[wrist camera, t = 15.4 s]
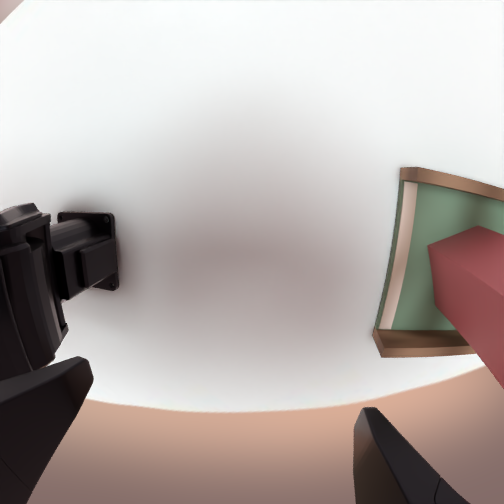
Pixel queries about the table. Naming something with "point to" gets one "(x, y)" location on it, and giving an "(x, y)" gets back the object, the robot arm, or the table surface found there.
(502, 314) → the post
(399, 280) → the box
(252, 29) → the table surface
